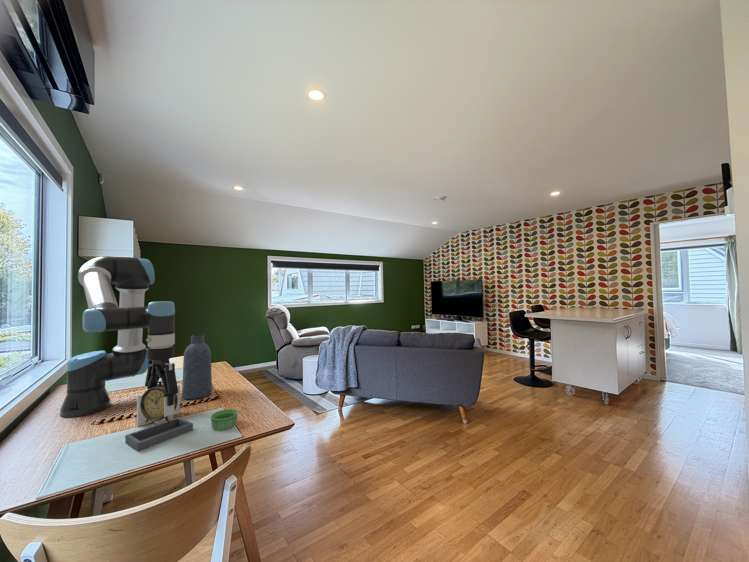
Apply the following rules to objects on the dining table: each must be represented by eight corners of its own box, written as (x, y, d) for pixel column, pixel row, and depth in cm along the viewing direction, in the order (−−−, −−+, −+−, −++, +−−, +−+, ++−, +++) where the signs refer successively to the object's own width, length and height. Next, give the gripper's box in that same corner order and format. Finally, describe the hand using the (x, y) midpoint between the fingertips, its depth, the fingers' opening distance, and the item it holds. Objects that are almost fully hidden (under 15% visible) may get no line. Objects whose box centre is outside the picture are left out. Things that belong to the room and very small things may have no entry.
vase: (190, 391, 145) (190, 333, 145) (216, 390, 146) (216, 333, 147) (176, 401, 133) (176, 337, 133) (204, 399, 134) (205, 337, 135)
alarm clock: (138, 423, 99) (139, 374, 99) (153, 417, 104) (153, 370, 105) (167, 426, 97) (168, 376, 97) (180, 418, 102) (181, 371, 103)
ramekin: (228, 418, 114) (228, 407, 114) (243, 423, 110) (243, 411, 110) (205, 428, 106) (205, 415, 107) (220, 434, 102) (220, 421, 102)
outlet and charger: (136, 425, 108) (137, 395, 109) (178, 412, 120) (178, 384, 121) (150, 433, 102) (150, 401, 103) (193, 418, 114) (193, 389, 114)
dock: (125, 442, 96) (125, 435, 96) (179, 423, 110) (179, 417, 110) (138, 451, 91) (138, 443, 91) (192, 430, 104) (192, 423, 105)
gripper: (133, 345, 104) (133, 408, 104) (164, 352, 92) (164, 423, 91) (158, 342, 111) (157, 401, 110) (190, 347, 98) (190, 414, 97)
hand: (160, 411), depth 101 cm, fingers closed on alarm clock, 11 cm apart
